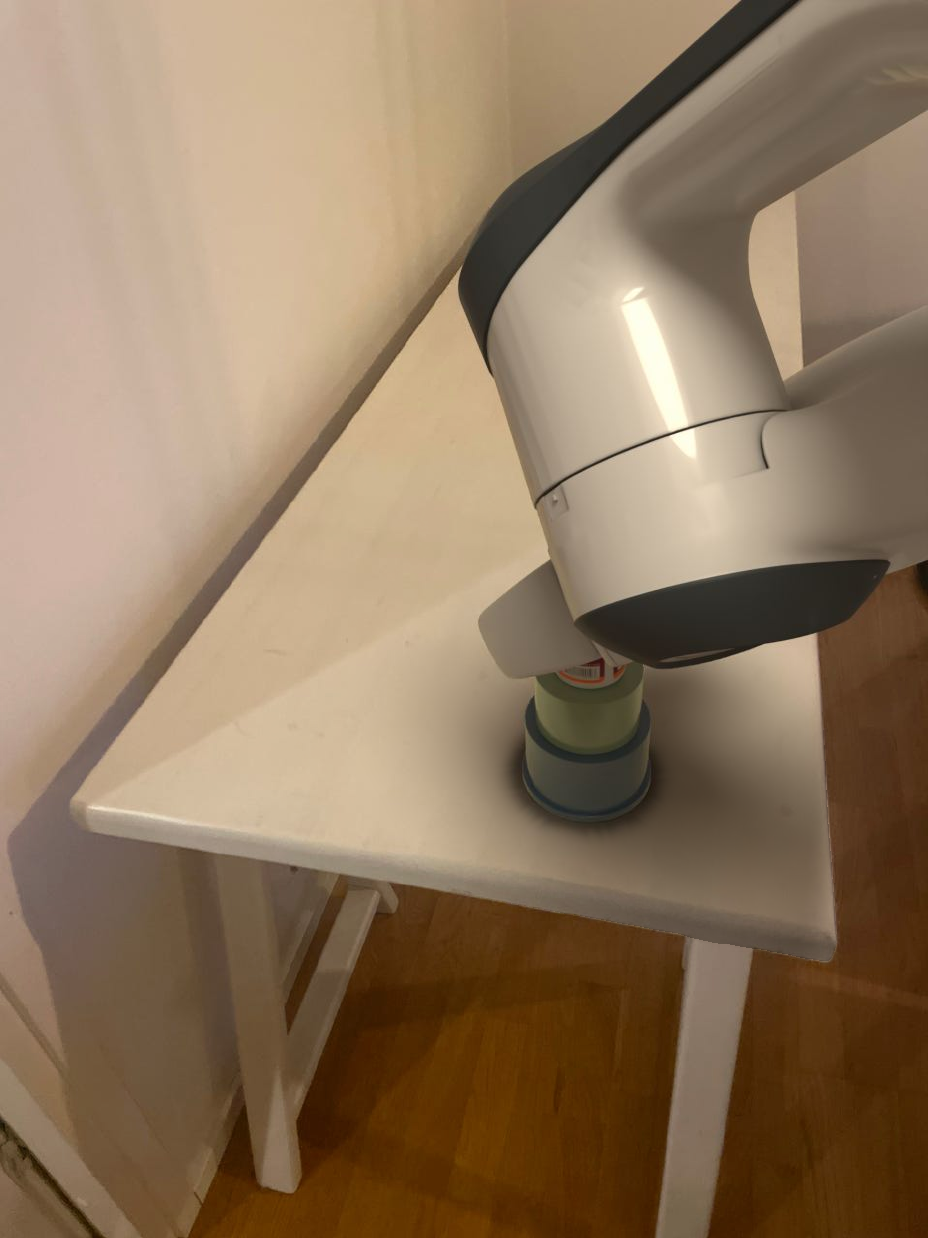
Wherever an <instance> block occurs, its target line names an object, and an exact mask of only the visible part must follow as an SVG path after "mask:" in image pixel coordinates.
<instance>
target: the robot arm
mask: <svg viewBox="0 0 928 1238" xmlns="http://www.w3.org/2000/svg"><path fill="white" fill-rule="evenodd" d="M927 111H928V0H739V1H738V2H737V3H736V4H735V5H734V6H733V7H731V9H729V10H727V12H726V13H725V14H724V15H723V16H721V17H720V18H719V19H718V20H717V21H716V22H715V23H714V24H713V25H711V26H710V27H709V28H708V29H707V30H706V31H705V32H704V33H703V34H701V35H700V36H699V37H698V38H697V39H696V40H695V41H694V42H693V43H691V44H690V45H689V46H688V47H687V48H685V50H684V51H682V53H680V55H678V56H677V57H676V58H675V59H674V60H672V61H671V62H670V63H669V64H668V65H667V66H666V67H665V68H664V69H663V70H661V71H660V72H659V73H658V74H657V75H656V76H655V77H654V78H652V79H651V80H650V81H649V82H648V83H647V84H646V85H645V86H643V88H642V89H640V90H639V91H638V92H637V93H636V94H634V96H633V97H632V98H630V99H629V100H628V101H627V102H626V103H625V104H624V105H623V106H622V107H620V109H618V110H617V111H616V112H615V113H614V114H612V115H611V116H610V117H609V118H608V119H606V120H605V121H604V122H602V123H601V124H600V125H598V126H597V127H596V128H594V129H593V130H591V131H590V132H588V133H586V134H585V135H583V136H581V137H580V138H578V139H576V140H575V141H573V142H572V143H569V144H567V146H565V147H564V148H561V149H560V150H559V151H557V152H554V153H553V154H552V155H550V156H549V157H547V158H545V159H543V161H541V162H539V163H538V164H536V165H535V166H533V167H531V168H530V169H528V170H527V171H526V172H524V173H523V174H521V175H520V176H519V177H517V179H515V180H514V181H513V182H511V184H509V186H507V188H505V189H504V190H503V191H502V193H500V195H499V196H498V197H497V198H496V200H495V201H494V202H493V204H492V205H491V206H490V208H489V209H488V211H487V213H486V214H485V215H484V217H483V219H482V221H481V222H480V224H479V226H478V228H477V230H476V232H475V234H474V237H473V238H472V241H471V243H470V245H469V248H468V251H467V253H466V255H465V257H464V260H463V263H462V266H461V269H460V271H459V276H458V280H457V281H458V282H457V294H458V295H457V296H458V299H459V303H460V305H461V307H462V310H463V312H464V315H465V317H466V319H467V322H468V325H469V327H470V329H471V331H472V334H473V337H474V339H475V341H476V344H477V347H478V349H479V352H480V354H481V356H482V358H483V361H484V364H485V366H486V368H487V371H488V373H489V375H490V376H491V378H492V379H493V380H494V383H495V388H496V390H497V393H498V396H499V399H500V403H501V407H502V410H503V412H504V416H505V419H506V422H507V426H508V429H509V431H510V435H511V438H512V441H513V445H514V448H515V451H516V454H517V457H518V458H517V459H518V460H519V464H520V468H521V470H522V473H523V476H524V480H525V483H526V486H527V489H528V494H529V496H530V499H531V503H532V506H533V508H534V509H535V511H536V513H537V516H538V519H539V522H540V526H541V529H542V532H543V535H544V539H545V542H546V546H547V553H548V556H549V559H548V560H546V561H545V562H543V563H542V564H540V566H537V568H535V569H534V570H532V571H531V572H530V573H529V574H527V575H526V576H525V577H523V578H522V579H520V580H519V581H518V582H517V583H515V585H513V586H512V587H510V588H509V589H508V590H507V591H505V592H504V593H502V594H501V595H500V596H499V597H498V598H497V599H495V600H494V601H493V602H492V603H491V604H489V605H488V606H487V607H486V608H485V609H483V611H481V613H480V614H479V617H478V619H477V626H478V629H479V633H480V636H481V637H482V640H483V642H484V644H485V646H486V648H487V650H488V652H489V654H490V656H491V657H492V659H493V661H494V662H495V665H497V667H498V669H499V670H500V671H501V673H502V674H504V676H506V677H507V678H509V679H511V680H522V679H527V678H532V677H533V678H534V676H539V675H543V674H548V673H553V672H557V671H562V670H566V669H570V668H573V667H577V666H580V665H583V664H586V663H589V662H591V661H594V660H597V659H600V658H602V657H603V659H604V660H605V662H606V663H607V664H608V666H610V667H618V666H622V665H625V664H628V663H631V662H633V661H635V662H638V663H641V664H643V665H644V666H646V667H648V668H651V669H656V670H672V669H680V668H681V669H682V668H687V667H693V666H697V665H703V664H707V663H711V662H715V661H718V660H722V659H726V658H729V657H732V656H735V655H738V654H742V653H744V652H747V651H750V650H752V649H753V650H754V649H756V648H758V647H760V646H763V645H768V644H774V643H780V642H784V641H791V640H795V639H799V638H803V637H807V636H810V635H814V634H818V633H820V632H823V631H826V630H829V629H832V628H834V627H836V626H838V625H840V624H843V623H845V622H847V621H848V620H850V619H851V618H852V617H853V616H854V615H855V614H856V613H857V612H858V611H859V610H860V608H861V607H862V606H863V605H864V603H866V601H867V600H868V599H869V597H870V596H871V595H872V594H873V593H874V592H875V590H877V588H878V586H879V585H880V583H881V582H882V581H883V579H884V578H885V576H886V575H889V574H892V573H895V572H898V571H901V570H904V569H907V568H909V567H911V566H915V565H918V564H920V563H923V562H925V561H928V304H926V305H924V306H922V307H919V308H917V309H915V310H912V311H910V312H908V313H906V314H903V315H902V316H899V317H897V318H895V319H893V320H891V321H888V322H886V323H885V324H882V325H881V326H878V327H876V328H873V329H872V330H870V331H868V332H865V333H863V334H861V335H859V336H858V337H856V338H854V339H852V340H850V341H848V342H846V343H844V344H842V345H841V346H839V347H837V348H835V349H834V350H831V352H829V353H827V354H825V355H823V356H821V357H820V358H818V359H816V360H814V361H812V362H811V363H809V364H808V365H806V366H804V367H802V368H801V369H800V370H798V371H796V372H795V373H793V374H792V375H790V376H788V377H787V378H785V379H784V380H783V378H782V377H783V376H782V374H781V371H780V369H779V365H778V363H777V360H776V357H775V354H774V351H773V348H772V345H771V342H770V340H769V337H768V334H767V330H766V328H765V325H764V322H763V319H762V317H761V316H762V315H761V313H760V311H759V307H758V304H757V302H756V298H755V296H754V292H753V287H752V282H751V274H750V264H749V262H750V261H749V260H750V259H749V249H750V248H749V247H750V238H751V232H752V227H753V223H754V221H755V219H756V216H757V215H758V213H760V212H761V211H762V210H764V209H766V208H767V207H769V206H771V205H772V204H774V203H776V202H778V201H779V200H781V199H782V198H785V197H786V196H787V195H789V194H790V193H793V192H794V191H796V190H797V189H799V188H801V187H802V186H804V185H806V184H808V183H809V182H811V181H812V180H814V179H816V178H817V177H818V176H821V175H822V174H824V173H826V172H827V171H829V170H831V169H833V168H834V167H836V166H837V165H839V164H840V163H842V162H844V161H845V160H847V159H850V157H852V156H854V155H856V154H857V153H859V152H860V151H862V150H864V149H865V148H867V147H869V146H870V145H872V144H874V143H876V142H877V141H879V140H880V139H882V138H883V137H885V136H887V135H889V134H890V133H892V132H894V131H895V130H897V129H899V128H900V127H902V126H904V125H905V124H907V123H908V122H910V121H912V120H914V119H915V118H918V117H919V116H921V115H922V114H924V113H925V112H927Z"/></svg>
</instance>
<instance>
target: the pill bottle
mask: <svg viewBox="0 0 928 1238" xmlns="http://www.w3.org/2000/svg"><path fill="white" fill-rule="evenodd" d="M625 669H626V664H625V665H622V666H618V667H610V666H608V664H607V663H606V662H605V660H604V659H603V657H602V658H600V659H597V660H594V661H591V662H589V663H586V664H583V665H580V666H577V667H573V668H570V669H566V670H562V671H557V672H555V673H556V674H557V676H558V677H559V678H560V679H561V680H562V681H564V682H565V683H567V684H569V685H571V686H574V687H577V688H582V689H597V688H602V687H606V686H608V685H611V684H613V683H615V682H616V681H618V680H619V679H620V677H621V676H622V675H623V673H624V671H625Z"/></svg>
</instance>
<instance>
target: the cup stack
mask: <svg viewBox="0 0 928 1238" xmlns="http://www.w3.org/2000/svg"><path fill="white" fill-rule="evenodd" d="M644 680H645V665H643V664H641V663H638V662H635V661H633V662H631V663H628V664H626V669H625V671H624V673H623V675H622V676H621V677H620V679H619V680H618V681H616V682H615V683H613V684H611V685H608V686H606V687H602V688H597V689H582V688H577V687H574V686H571V685H569V684H567V683H565V682H564V681H562V680H561V679H560V678H559V677H558V676H557V674H556V673H555V672H553V673H548V674H543V675H539V676H533V690H534V694H533V695H532V697H530V699H529V701H528V703H527V705H526V708H525V712H524V734H525V735H524V737H525V739H524V740H525V752H524V755H523V758H522V763H521V770H522V772H521V773H522V780H523V784H524V786H525V789H526V790H527V792H528V794H529V795H530V797H531V798H532V799H533V801H535V803H536V804H538V805H539V807H541V808H543V809H544V810H545V811H546V812H548V813H550V814H552V815H554V816H556V817H559V818H562V819H565V820H569V821H573V822H577V823H578V822H580V823H599V822H606V821H610V820H613V819H616V818H619V817H621V816H623V815H625V814H627V813H629V812H630V811H632V810H633V809H634V808H636V807H637V806H638V805H639V804H640V803H641V802H642V801H643V800H644V798H645V797H646V795H647V793H648V791H649V788H650V787H651V781H652V764H651V760H650V757H649V754H650V741H651V730H652V729H651V728H652V716H651V711H650V708H649V706H648V704H647V703H646V701H645V699H644V698H643V695H644V694H643V693H644V691H643V690H644Z"/></svg>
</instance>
